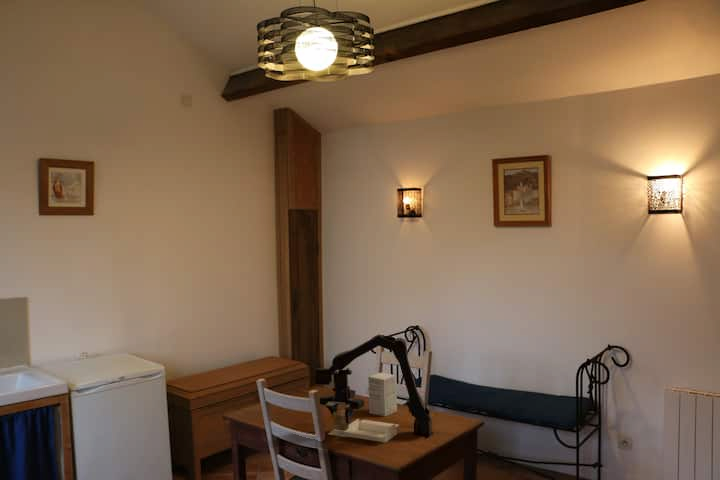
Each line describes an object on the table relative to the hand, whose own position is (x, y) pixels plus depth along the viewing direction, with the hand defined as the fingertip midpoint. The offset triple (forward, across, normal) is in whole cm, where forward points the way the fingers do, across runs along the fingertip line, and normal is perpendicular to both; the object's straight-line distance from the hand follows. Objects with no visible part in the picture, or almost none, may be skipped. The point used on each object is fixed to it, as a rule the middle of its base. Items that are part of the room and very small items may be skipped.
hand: (342, 422), depth 248 cm
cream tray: (+5, -13, -2) cm, 14 cm away
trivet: (+4, 0, 0) cm, 5 cm away
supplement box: (+5, -3, -32) cm, 32 cm away
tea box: (+2, 0, 0) cm, 2 cm away
